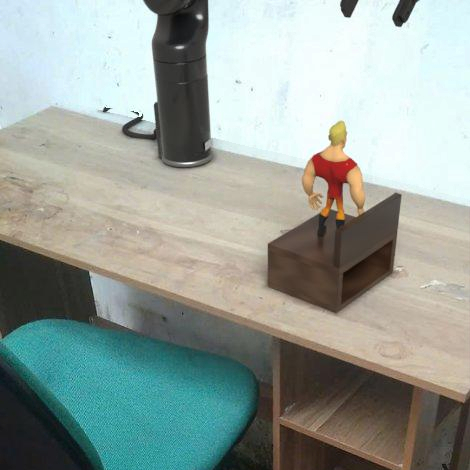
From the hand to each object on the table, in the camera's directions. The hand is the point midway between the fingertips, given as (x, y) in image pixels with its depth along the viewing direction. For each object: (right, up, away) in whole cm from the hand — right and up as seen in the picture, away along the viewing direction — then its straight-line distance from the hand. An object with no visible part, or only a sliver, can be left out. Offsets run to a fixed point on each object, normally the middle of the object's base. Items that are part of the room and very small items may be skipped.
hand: (370, 18), depth 110 cm
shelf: (-5, -35, +4) cm, 36 cm away
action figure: (-5, -30, 0) cm, 31 cm away
